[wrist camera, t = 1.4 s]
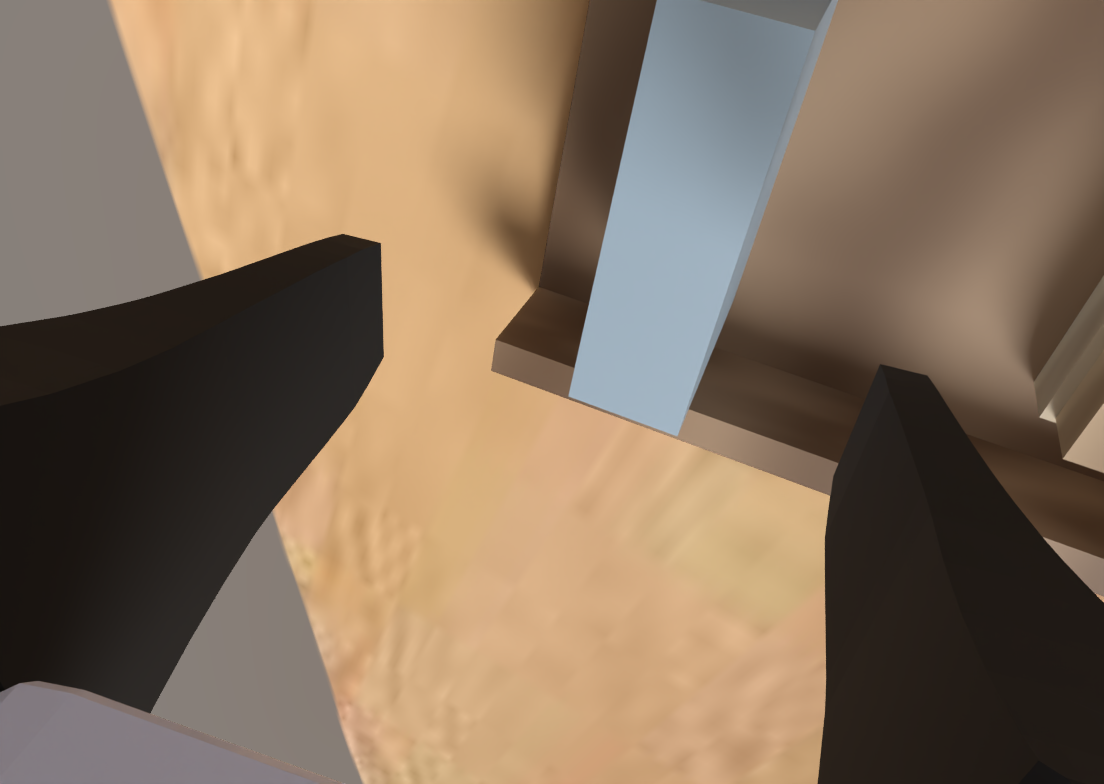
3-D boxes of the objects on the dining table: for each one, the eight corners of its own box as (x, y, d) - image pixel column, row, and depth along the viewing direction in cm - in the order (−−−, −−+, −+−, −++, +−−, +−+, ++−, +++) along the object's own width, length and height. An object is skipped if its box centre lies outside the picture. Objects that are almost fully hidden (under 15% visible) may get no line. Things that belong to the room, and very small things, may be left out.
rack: (1698, -14, 14) (1905, 39, 11) (1192, 529, 22) (1231, 643, 19) (643, -240, 17) (581, -246, 14) (543, 303, 25) (491, 370, 22)
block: (850, -34, 17) (815, 31, 12) (733, 301, 22) (677, 436, 17) (734, -63, 17) (659, -11, 13) (645, 272, 22) (568, 396, 18)
